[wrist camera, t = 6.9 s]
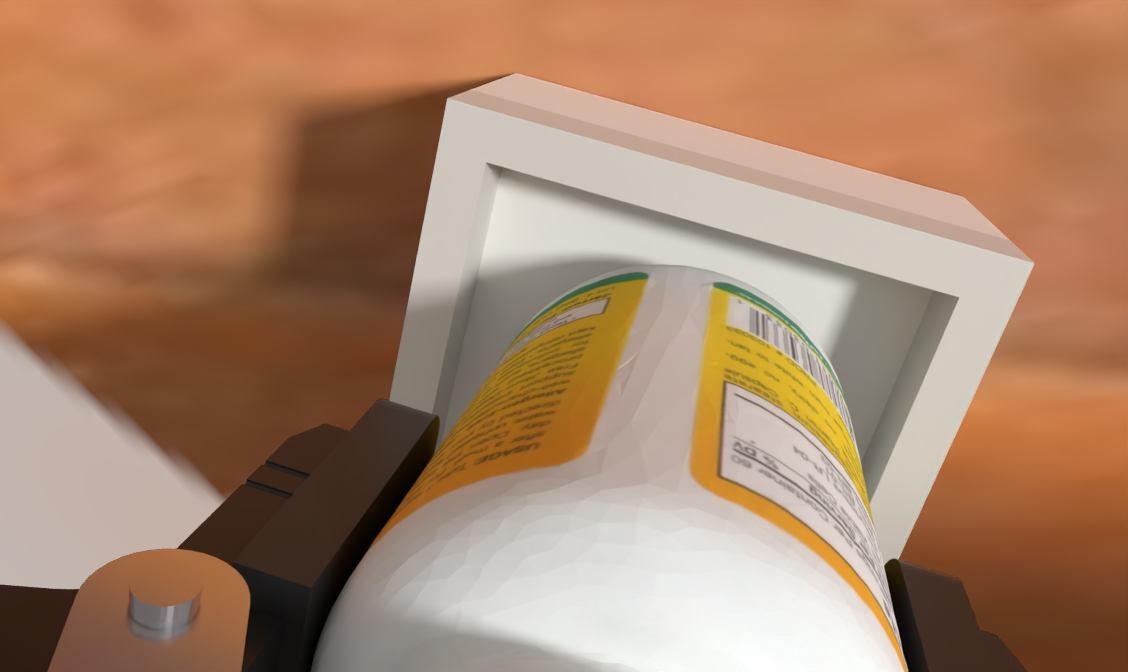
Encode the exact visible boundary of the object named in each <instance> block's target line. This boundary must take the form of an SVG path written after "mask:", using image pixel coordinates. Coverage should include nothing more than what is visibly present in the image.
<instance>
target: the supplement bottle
mask: <svg viewBox="0 0 1128 672" xmlns="http://www.w3.org/2000/svg"><path fill="white" fill-rule="evenodd" d="M310 672H908V668H907V664H906V661H905V658H904V654H903V650H902V645H901V640H900V636H899V631H898V627H897V623H896V619H895V615H894V611H893V606H892V601H891V597H890V592H889V587H888V583H887V578H886V574H885V569H884V564H883V560H882V555H881V552H880V548H879V544H878V539H877V535H876V532H875V527H874V523H873V518H872V514H871V509H870V505H869V500H868V496H867V491H866V486H865V481H864V477H863V472H862V465H861V461H860V457H859V453H858V449H857V444H856V440H855V436H854V431H853V427H852V422H851V418H850V415H849V411H848V408H847V404H846V400H845V398H844V395H843V392H842V389H841V385H840V382H839V379H838V377H837V375H836V373H835V371H834V369H833V367H832V365H831V362H830V361H829V359H828V358H827V356H826V354H825V353H824V351H823V350H822V348H821V346H820V345H819V344H818V343H817V341H816V340H815V339H814V337H813V336H812V335H811V333H810V332H809V331H808V330H807V329H806V328H805V327H804V325H803V324H802V323H801V322H800V321H799V320H798V319H797V318H796V317H795V316H794V315H793V314H792V313H790V312H789V311H788V310H787V309H786V308H784V307H783V306H782V305H781V304H780V303H778V302H777V301H776V300H775V299H773V298H771V297H770V296H768V295H767V294H765V293H764V292H762V291H760V290H759V289H757V288H755V287H753V286H751V285H749V284H747V283H744V282H742V281H740V280H737V279H735V278H732V277H729V276H727V275H724V274H720V273H717V272H713V271H710V270H706V269H701V268H695V267H690V266H683V265H666V264H661V265H645V266H633V267H627V268H622V269H618V270H614V271H611V272H607V273H604V274H602V275H599V276H597V277H595V278H592V279H590V280H588V281H586V282H584V283H582V284H580V285H578V286H576V287H574V288H573V289H571V290H569V291H567V292H566V293H564V294H562V295H561V296H559V297H558V298H556V299H555V300H553V301H552V302H550V303H549V304H548V305H547V306H546V307H544V308H543V309H542V310H541V311H540V312H538V313H537V314H536V315H535V316H534V317H533V318H532V319H531V320H530V321H529V322H528V323H527V325H526V326H525V327H524V328H523V329H522V330H521V332H520V333H519V334H518V335H517V336H516V338H515V339H514V340H513V342H512V343H511V345H510V346H509V347H508V349H507V350H506V351H505V353H504V354H503V356H502V357H501V359H500V360H499V362H498V364H497V365H496V367H495V368H494V369H493V371H492V372H491V373H490V374H489V376H488V377H487V379H486V380H485V382H484V383H483V385H482V386H481V388H480V389H479V391H478V392H477V393H476V395H475V397H474V398H473V400H472V401H471V402H470V404H469V405H468V407H467V408H466V410H465V411H464V413H463V414H462V416H461V417H460V419H459V420H458V421H457V423H456V424H455V426H454V427H453V429H452V430H451V432H450V433H449V435H448V436H447V437H446V439H445V440H444V442H443V443H442V445H441V446H440V447H439V449H438V450H437V452H436V453H435V455H434V456H433V457H432V459H431V460H430V462H429V463H428V465H427V466H426V467H425V469H424V470H423V472H422V473H421V475H420V476H419V477H418V479H417V480H416V482H415V483H414V485H413V486H412V487H411V489H410V490H409V492H408V493H407V495H406V496H405V497H404V499H403V500H402V502H401V503H400V505H399V506H398V508H397V509H396V511H395V512H394V514H393V515H392V517H391V518H390V519H389V521H388V522H387V523H386V525H385V526H384V527H383V529H382V530H381V531H380V533H379V534H378V535H377V537H376V538H375V540H374V541H373V543H372V544H371V546H370V548H369V549H368V551H367V552H366V554H365V555H364V557H363V558H362V560H361V561H360V563H359V564H358V565H357V567H356V568H355V570H354V571H353V573H352V574H351V576H350V577H349V579H348V580H347V582H346V584H345V585H344V587H343V589H342V591H341V592H340V594H339V596H338V598H337V599H336V601H335V603H334V605H333V606H332V608H331V611H330V613H329V615H328V618H327V620H326V622H325V625H324V627H323V630H322V632H321V634H320V637H319V641H318V644H317V647H316V650H315V653H314V657H313V662H312V666H311V671H310Z"/></svg>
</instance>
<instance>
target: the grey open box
mask: <svg viewBox="0 0 1128 672" xmlns="http://www.w3.org/2000/svg"><path fill="white" fill-rule="evenodd" d="M661 264H666V265H683V266H690V267H695V268H701V269H706V270H710V271H713V272H717V273H720V274H724V275H727V276H729V277H732V278H735V279H737V280H740V281H742V282H744V283H747V284H749V285H751V286H753V287H755V288H757V289H759V290H760V291H762V292H764V293H765V294H767V295H768V296H770V297H771V298H773V299H775V300H776V301H777V302H778V303H780V304H781V305H782V306H783V307H784V308H786V309H787V310H788V311H789V312H790V313H792V314H793V315H794V316H795V317H796V318H797V319H798V320H799V321H800V322H801V323H802V324H803V325H804V327H805V328H806V329H807V330H808V331H809V332H810V333H811V335H812V336H813V337H814V339H815V340H816V341H817V343H818V344H819V345H820V346H821V348H822V350H823V351H824V353H825V354H826V356H827V358H828V359H829V361H830V362H831V365H832V367H833V369H834V371H835V373H836V375H837V377H838V379H839V382H840V385H841V389H842V392H843V395H844V398H845V400H846V404H847V408H848V411H849V415H850V418H851V422H852V427H853V431H854V436H855V440H856V444H857V449H858V453H859V457H860V461H861V465H862V472H863V477H864V481H865V486H866V491H867V496H868V500H869V505H870V509H871V514H872V518H873V523H874V527H875V532H876V535H877V539H878V544H879V548H880V552H881V555H882V560H883V564H884V565H885V564H886V563H887V562H888V561H889V560H890V559H893V558H895V559H899V557H900V555H901V553H902V550H903V548H904V546H905V544H906V542H907V539H908V537H909V535H910V533H911V531H912V529H913V526H914V524H915V522H916V520H917V518H918V516H919V513H920V511H921V509H922V507H923V505H924V503H925V500H926V498H927V496H928V494H929V492H930V490H931V487H932V485H933V483H934V481H935V479H936V476H937V474H938V472H939V470H940V468H941V466H942V463H943V461H944V459H945V457H946V455H947V453H948V450H949V448H950V446H951V444H952V442H953V440H954V437H955V435H956V433H957V431H958V429H959V426H960V424H961V422H962V420H963V418H964V416H965V413H966V411H967V409H968V407H969V405H970V403H971V400H972V398H973V396H974V394H975V392H976V390H977V387H978V385H979V383H980V381H981V379H982V376H983V374H984V372H985V370H986V368H987V366H988V363H989V361H990V359H991V357H992V355H993V353H994V350H995V348H996V346H997V344H998V342H999V340H1000V337H1001V335H1002V333H1003V331H1004V329H1005V326H1006V324H1007V322H1008V320H1009V318H1010V316H1011V313H1012V311H1013V309H1014V307H1015V305H1016V303H1017V300H1018V298H1019V296H1020V294H1021V292H1022V290H1023V287H1024V285H1025V283H1026V281H1027V279H1028V276H1029V274H1030V272H1031V270H1032V268H1033V266H1034V262H1033V261H1032V260H1031V259H1029V258H1028V257H1027V256H1026V255H1025V254H1024V253H1023V252H1022V251H1021V250H1020V249H1019V248H1018V247H1017V246H1016V245H1014V244H1013V243H1012V242H1011V241H1010V240H1009V239H1008V238H1007V237H1006V236H1005V235H1004V234H1003V233H1002V232H1001V231H999V230H998V229H997V228H996V227H995V226H994V225H993V224H992V223H991V222H990V221H989V220H988V219H987V218H985V217H984V216H983V215H982V214H981V213H980V212H979V211H978V210H977V209H976V208H975V207H974V206H973V205H972V204H970V203H969V202H968V201H967V200H966V199H965V198H964V197H962V196H958V195H955V194H951V193H947V192H944V191H940V190H937V189H933V188H929V187H926V186H922V185H919V184H915V183H911V182H908V181H904V180H901V179H897V178H893V177H890V176H886V175H883V174H879V173H875V172H872V171H868V170H864V169H861V168H857V167H854V166H850V165H846V164H843V163H839V162H836V161H832V160H828V159H825V158H821V157H818V156H814V155H810V154H807V153H803V152H800V151H796V150H792V149H789V148H785V147H782V146H778V145H774V144H771V143H767V142H764V141H760V140H756V139H753V138H749V137H745V136H742V135H738V134H735V133H731V132H727V131H724V130H720V129H717V128H713V127H709V126H706V125H702V124H699V123H695V122H691V121H688V120H684V119H681V118H677V117H673V116H670V115H666V114H663V113H659V112H655V111H652V110H648V109H645V108H641V107H637V106H634V105H630V104H626V103H623V102H619V101H616V100H612V99H608V98H605V97H601V96H598V95H594V94H590V93H587V92H583V91H580V90H576V89H572V88H569V87H565V86H562V85H558V84H554V83H551V82H547V81H544V80H540V79H536V78H533V77H529V76H526V75H522V74H518V73H515V74H512V75H509V76H506V77H504V78H501V79H498V80H496V81H493V82H490V83H487V84H485V85H482V86H479V87H477V88H474V89H471V90H468V91H466V92H463V93H460V94H458V95H455V96H452V97H449V98H447V103H446V108H445V113H444V118H443V124H442V129H441V134H440V139H439V144H438V150H437V155H436V160H435V165H434V170H433V175H432V181H431V186H430V191H429V196H428V201H427V207H426V212H425V217H424V222H423V227H422V233H421V238H420V243H419V248H418V253H417V258H416V264H415V269H414V274H413V279H412V284H411V290H410V295H409V300H408V305H407V310H406V316H405V321H404V326H403V331H402V336H401V341H400V347H399V352H398V357H397V362H396V367H395V373H394V378H393V383H392V388H391V393H390V398H389V401H392V402H395V403H398V404H401V405H405V406H408V407H411V408H414V409H418V410H421V411H424V412H427V413H431V414H434V415H437V416H439V419H440V427H439V434H438V439H437V443H436V448H435V452H434V455H435V453H436V452H437V450H438V449H439V447H440V446H441V445H442V443H443V442H444V440H445V439H446V437H447V436H448V435H449V433H450V432H451V430H452V429H453V427H454V426H455V424H456V423H457V421H458V420H459V419H460V417H461V416H462V414H463V413H464V411H465V410H466V408H467V407H468V405H469V404H470V402H471V401H472V400H473V398H474V397H475V395H476V393H477V392H478V391H479V389H480V388H481V386H482V385H483V383H484V382H485V380H486V379H487V377H488V376H489V374H490V373H491V372H492V371H493V369H494V368H495V367H496V365H497V364H498V362H499V360H500V359H501V357H502V356H503V354H504V353H505V351H506V350H507V349H508V347H509V346H510V345H511V343H512V342H513V340H514V339H515V338H516V336H517V335H518V334H519V333H520V332H521V330H522V329H523V328H524V327H525V326H526V325H527V323H528V322H529V321H530V320H531V319H532V318H533V317H534V316H535V315H536V314H537V313H538V312H540V311H541V310H542V309H543V308H544V307H546V306H547V305H548V304H549V303H550V302H552V301H553V300H555V299H556V298H558V297H559V296H561V295H562V294H564V293H566V292H567V291H569V290H571V289H573V288H574V287H576V286H578V285H580V284H582V283H584V282H586V281H588V280H590V279H592V278H595V277H597V276H599V275H602V274H604V273H607V272H611V271H614V270H618V269H622V268H627V267H633V266H645V265H661Z"/></svg>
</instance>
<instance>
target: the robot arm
mask: <svg viewBox="0 0 1128 672" xmlns="http://www.w3.org/2000/svg"><path fill="white" fill-rule="evenodd" d="M439 427H440V419H439V416H437V415H434V414H431V413H427V412H424V411H421V410H418V409H414V408H411V407H408V406H405V405H401V404H398V403H395V402H392V401H389V400H385V399H379V400H377V401H376V402H375V403H374V405H373V406H372V407H371V408H370V409H369V410H368V411H367V412H366V413H365V415H364V416H363V417H362V418H361V419H360V420H359V421H358V422H357V424H356V425H355V426H354V427H353V428H352V429H351V430H350V431H347V430H344V429H341V428H338V427H334V426H331V425H328V424H323V425H321V426H318V427H316V428H313V429H310V430H308V431H305V432H303V433H300V434H298V435H295V436H293V437H290V438H289V439H288V440H287V441H286V442H285V443H283V444H282V445H281V446H280V447H279V448H278V449H277V450H276V451H275V452H274V453H273V454H272V455H271V456H270V457H269V458H268V459H267V460H266V463H265V465H261V466H260V467H259V468H258V469H257V470H256V471H255V472H254V473H253V474H252V475H251V476H250V477H249V478H248V479H247V482H246V484H245V485H243V484H242V485H241V486H240V487H239V488H238V489H237V490H236V491H235V492H234V493H233V494H232V495H231V496H230V497H229V498H228V499H227V500H226V501H225V502H224V503H223V504H221V505H220V506H219V507H218V508H217V509H216V510H215V511H214V512H213V513H212V514H211V515H210V516H209V517H208V518H207V519H206V520H205V521H204V522H203V523H202V524H201V525H200V526H199V527H198V528H197V529H196V530H195V531H194V532H193V533H192V534H191V535H190V536H189V537H188V538H187V539H186V540H185V541H184V542H183V543H182V544H181V545H180V546H179V547H178V548H177V549H156V550H147V551H142V552H137V553H133V554H130V555H127V556H123V557H121V558H119V559H116V560H114V561H112V562H109V563H108V564H106V565H104V566H103V567H101V568H99V569H98V570H97V571H95V572H94V573H93V574H92V575H90V576H89V577H88V578H87V580H86V581H85V582H84V583H83V584H82V585H81V587H80V589H49V588H36V587H24V586H11V585H0V672H310V671H311V666H312V662H313V657H314V653H315V650H316V647H317V644H318V641H319V637H320V634H321V632H322V630H323V627H324V625H325V622H326V620H327V618H328V615H329V613H330V611H331V608H332V606H333V605H334V603H335V601H336V599H337V598H338V596H339V594H340V592H341V591H342V589H343V587H344V585H345V584H346V582H347V580H348V579H349V577H350V576H351V574H352V573H353V571H354V570H355V568H356V567H357V565H358V564H359V563H360V561H361V560H362V558H363V557H364V555H365V554H366V552H367V551H368V549H369V548H370V546H371V544H372V543H373V541H374V540H375V538H376V537H377V535H378V534H379V533H380V531H381V530H382V529H383V527H384V526H385V525H386V523H387V522H388V521H389V519H390V518H391V517H392V515H393V514H394V512H395V511H396V509H397V508H398V506H399V505H400V503H401V502H402V500H403V499H404V497H405V496H406V495H407V493H408V492H409V490H410V489H411V487H412V486H413V485H414V483H415V482H416V480H417V479H418V477H419V476H420V475H421V473H422V472H423V470H424V469H425V467H426V466H427V465H428V463H429V462H430V460H431V459H432V457H433V456H434V452H435V448H436V443H437V439H438V434H439ZM884 569H885V574H886V578H887V583H888V587H889V592H890V597H891V601H892V606H893V611H894V615H895V619H896V623H897V627H898V631H899V636H900V640H901V645H902V650H903V654H904V658H905V661H906V664H907V668H908V672H1027V671H1026V669H1025V668H1024V667H1023V666H1022V665H1021V663H1020V662H1019V661H1018V660H1017V659H1016V658H1015V656H1014V655H1013V654H1012V653H1011V652H1010V650H1009V649H1008V648H1007V647H1006V646H1005V645H1004V643H1003V642H1002V641H1001V640H1000V639H999V638H998V636H997V635H994V634H991V633H988V632H984V631H981V630H979V627H978V624H977V622H976V619H975V616H974V613H973V611H972V608H971V605H970V603H969V600H968V597H967V594H966V592H965V589H964V586H963V584H962V582H961V581H960V580H959V579H958V578H956V577H953V576H950V575H947V574H944V573H940V572H937V571H934V570H931V569H927V568H924V567H921V566H918V565H915V564H911V563H908V562H905V561H902V560H898V559H895V558H893V559H890V560H889V561H888V562H887V563H886V564H885V565H884Z"/></svg>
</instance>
